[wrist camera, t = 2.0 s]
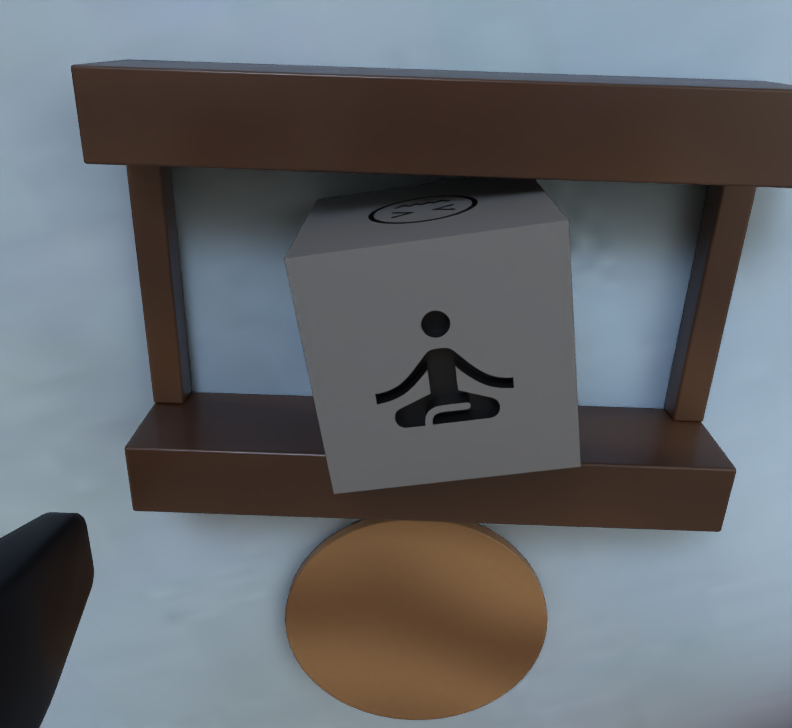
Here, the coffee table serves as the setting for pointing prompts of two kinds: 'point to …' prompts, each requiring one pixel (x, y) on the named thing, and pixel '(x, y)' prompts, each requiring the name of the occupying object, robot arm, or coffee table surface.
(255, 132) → the holder
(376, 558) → the coaster
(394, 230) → the dice cube
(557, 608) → the coffee table surface
